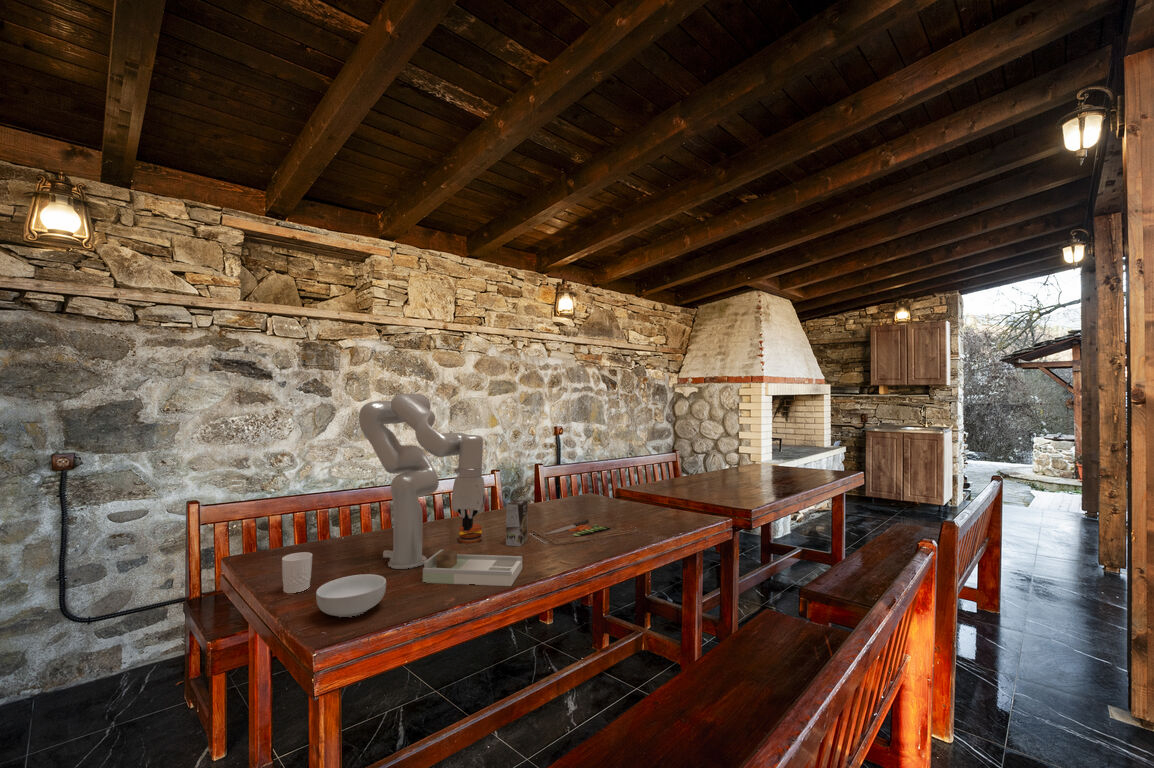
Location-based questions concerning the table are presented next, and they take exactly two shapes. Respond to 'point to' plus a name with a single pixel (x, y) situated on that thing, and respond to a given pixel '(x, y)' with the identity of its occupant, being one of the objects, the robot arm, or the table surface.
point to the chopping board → (576, 532)
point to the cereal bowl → (351, 595)
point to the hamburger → (470, 534)
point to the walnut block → (446, 559)
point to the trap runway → (475, 570)
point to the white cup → (296, 572)
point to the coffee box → (516, 522)
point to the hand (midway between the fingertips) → (467, 529)
